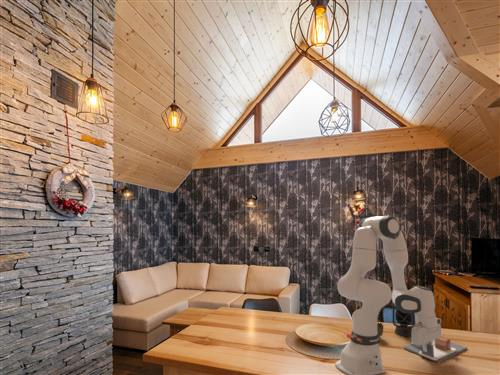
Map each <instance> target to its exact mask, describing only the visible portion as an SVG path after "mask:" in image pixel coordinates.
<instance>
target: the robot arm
mask: <svg viewBox="0 0 500 375" xmlns="http://www.w3.org/2000/svg"><path fill="white" fill-rule="evenodd" d="M358 224H359V225H358V228H356V229H355V232H354V236H353V239H352V240H353V241H352V252H351V255H352V256H351V263H350V267H349V269H348V270H347V272H346V273H345V274H344V275H343V276H342V277H340V278H339V279H338V281H337V287H336V288H337V291H338V293H339V295H340V296H342V297H344V298H346V299H348V300H352V301H356V302H360V303H361V304H362V305H361V308H360V307H359V309H356V310H354V312H352V316H351V317H352V318H351V320H352V321H351V322H352V329H351V333H349V332H347V333H346V338H348V339H349V341H348V343H347V344H346V345H345V346H344V348H342V350H341V353H340V359H339V360H337V361H336V362H335V364H334V366H335V368H337V369H338V370H339V371H341V372H343V373H344V374H347V375H379V374H384V373H386V368H385V367H384V363H383V362H384V361H383V357H382V351H381V348H380V344H379V343H380V339H379V334H378V330H377V324H378V317H379V315H380V312H381V310H382V309H383V308H384V307H386V306H387V305H388V304H389V303H390V302H393V303H394V304H395V305H394V307H396V310H397V309H398V310H399V311H401V312H403V313H411V314H412V313H414V317H415V324H414V327H413V328H412V333H411V337H410V338H411V339H410V340H411V342H412V343H413V344H416V345H419V346H420V345H422V347H423V351H425V352H427V351H428V347H427V346H426V345H427V344H430V345H432V343H433V340H435V339H438V338H440V337H441V336H442V326H441V325H442V319H441V318H438V317H436V316H437V315H436V312H435V308H436V304H435V296H434V293H433V291H432V290H431V289H430V288H428V287H425V286H424V285H423V286H422V285H415V286H414V287H412V288H410V289H408V287H407V288H406V286H407V285H406V284H407V283H406V279H405V277H406V276H405V267H406V266H407V265H408V263H409V254H408V248H407V246H408V245H407V242H406V239H405V237H404V234H403V231H402V230H401V225H400V222H399V221H398V219H397V218H395V217H394V216H391V215H381V216H380V215H375V216H370V217H369V216H368V217H364V218H363V219H362V220H360V222H359V223H358ZM378 239H381V241H382V246H383V247H382V248H383V254H384V257H385V260H386V263H387V266H388V267H389V270H390V277H391V283H392V289H391V287H390V286H389V285H388V284H387V283H386V282H383V281H380V280H377V279H369V278H365V277H366V274H367V273H368V272H370V271H373V269H375V268H376V266H377V240H378Z"/></svg>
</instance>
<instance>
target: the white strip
mask: <svg viewBox="0 0 500 375" xmlns="http://www.w3.org/2000/svg"><path fill="white" fill-rule="evenodd" d="M426 346H427V347H428V351H427V352H425V351H423V347H422V345H421V351H420V352H419V354H420V355H423V356H425V357H428V358H430V359H433V360H438V359H440V358H442V357H445V356H447V355H449V354H451V353H453V352H455V351H457V349H455V348H452V347H451V349H450V350H448V351H443V350H441V349H438V348H435V346H433V345H430V344H427V345H426ZM420 355H419V356H420ZM423 356H422V357H423ZM425 357H424V358H425ZM428 358H427V359H428ZM430 359H429V360H430ZM433 360H432V361H433Z"/></svg>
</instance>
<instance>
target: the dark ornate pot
mask: <svg viewBox="0 0 500 375" xmlns="http://www.w3.org/2000/svg"><path fill="white" fill-rule="evenodd" d="M377 330H378V334H379V340H380V339H381V336H383V334H384V333H383V332H384V324H383V323H382V322H380V323H379V321H377Z"/></svg>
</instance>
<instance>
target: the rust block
mask: <svg viewBox="0 0 500 375" xmlns="http://www.w3.org/2000/svg"><path fill="white" fill-rule="evenodd" d="M450 342H451V338H449V337H446V336H444V335H441V337H440V338H438V339H435V348H438V349H441V350H443V351H448V350H450V349H451V343H450Z"/></svg>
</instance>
